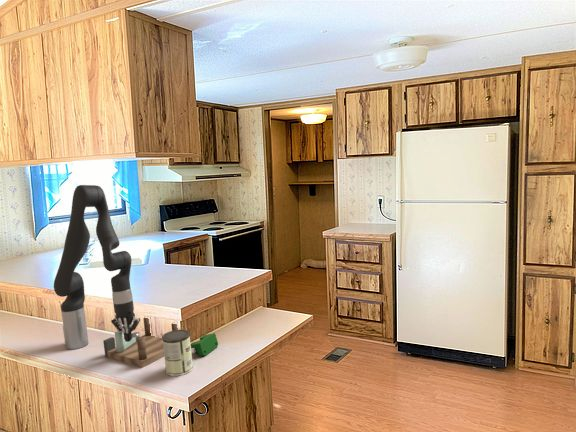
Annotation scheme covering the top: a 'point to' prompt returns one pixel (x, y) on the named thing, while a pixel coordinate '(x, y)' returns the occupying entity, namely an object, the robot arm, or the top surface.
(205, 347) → the clamp
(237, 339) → the top surface
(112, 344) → the stool seat
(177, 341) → the coffee can
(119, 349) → the swing leg
